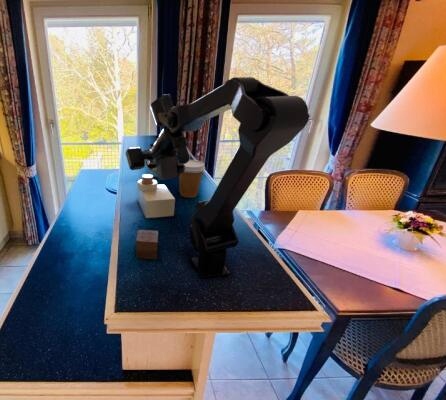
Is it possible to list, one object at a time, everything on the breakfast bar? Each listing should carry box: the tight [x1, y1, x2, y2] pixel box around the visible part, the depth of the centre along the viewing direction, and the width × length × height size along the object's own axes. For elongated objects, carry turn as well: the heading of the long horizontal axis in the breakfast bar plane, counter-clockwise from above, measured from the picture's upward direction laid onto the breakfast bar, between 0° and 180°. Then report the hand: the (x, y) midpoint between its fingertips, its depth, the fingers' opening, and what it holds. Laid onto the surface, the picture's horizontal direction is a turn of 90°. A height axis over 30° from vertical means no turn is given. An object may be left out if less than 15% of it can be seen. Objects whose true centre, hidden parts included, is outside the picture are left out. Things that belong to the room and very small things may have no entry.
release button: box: [141, 173, 154, 185], centre depth 87 cm, size 4×4×3 cm
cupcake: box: [145, 164, 158, 178], centre depth 114 cm, size 9×8×12 cm
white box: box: [136, 178, 176, 219], centre depth 87 cm, size 13×10×8 cm
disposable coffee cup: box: [178, 159, 206, 199], centre depth 95 cm, size 10×10×12 cm
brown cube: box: [135, 229, 159, 260], centre depth 65 cm, size 5×5×5 cm
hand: (149, 168), depth 84 cm, fingers closed
